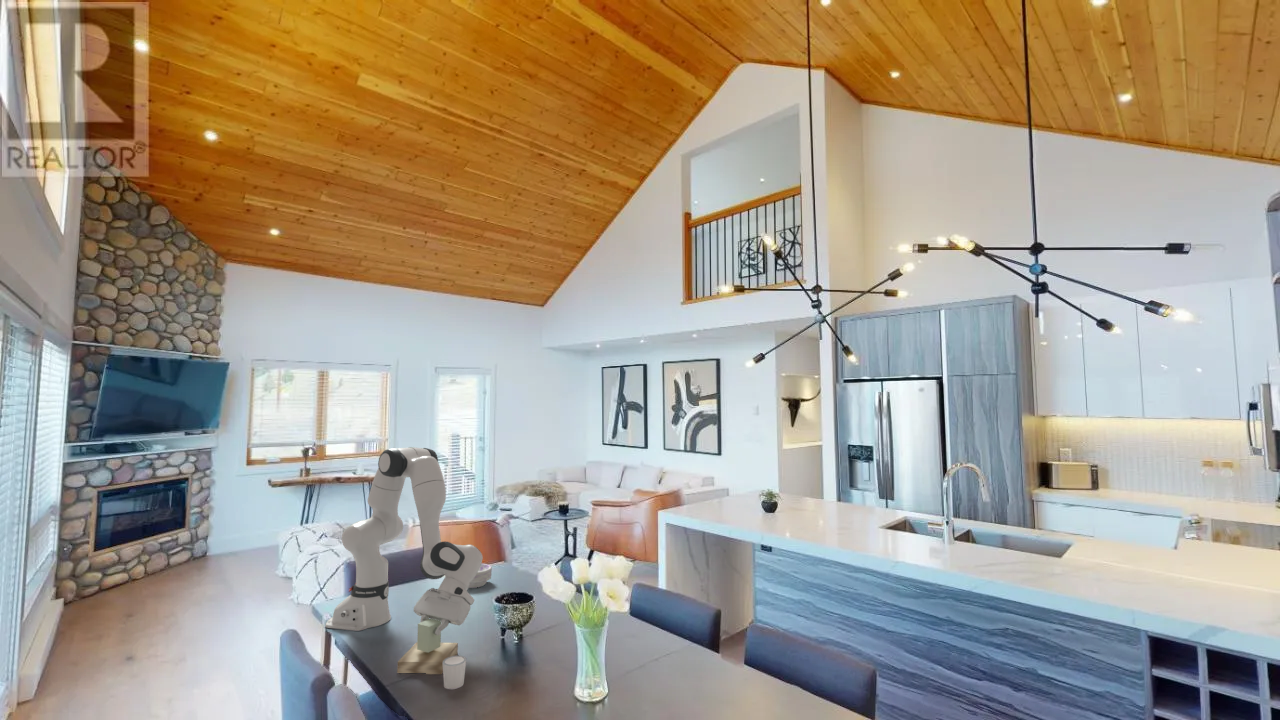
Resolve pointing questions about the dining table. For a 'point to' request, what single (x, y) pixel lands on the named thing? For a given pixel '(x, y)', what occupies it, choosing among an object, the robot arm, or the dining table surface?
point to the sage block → (428, 636)
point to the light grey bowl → (481, 576)
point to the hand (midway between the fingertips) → (427, 632)
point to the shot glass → (454, 671)
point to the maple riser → (426, 659)
